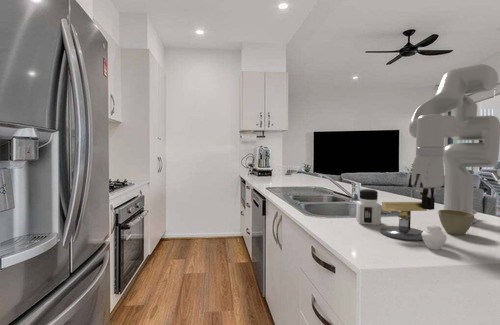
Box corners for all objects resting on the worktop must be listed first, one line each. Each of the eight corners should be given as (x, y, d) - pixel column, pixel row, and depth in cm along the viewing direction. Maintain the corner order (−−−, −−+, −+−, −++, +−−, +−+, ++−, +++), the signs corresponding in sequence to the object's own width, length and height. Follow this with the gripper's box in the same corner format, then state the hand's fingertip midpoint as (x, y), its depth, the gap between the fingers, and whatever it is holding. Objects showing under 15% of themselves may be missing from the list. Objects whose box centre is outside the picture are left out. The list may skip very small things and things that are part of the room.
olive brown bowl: (430, 230, 98) (431, 210, 98) (450, 228, 102) (451, 208, 102) (460, 239, 89) (461, 217, 89) (480, 235, 93) (481, 214, 92)
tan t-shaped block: (381, 216, 94) (382, 201, 94) (421, 216, 95) (422, 201, 95) (385, 218, 92) (385, 203, 92) (426, 218, 93) (426, 203, 92)
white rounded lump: (428, 251, 78) (429, 227, 77) (416, 244, 84) (417, 221, 83) (451, 252, 77) (452, 227, 77) (437, 244, 83) (438, 221, 83)
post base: (399, 227, 103) (399, 200, 103) (437, 237, 90) (438, 207, 90) (371, 231, 97) (372, 203, 97) (408, 243, 84) (409, 210, 84)
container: (380, 225, 105) (381, 191, 105) (359, 224, 107) (360, 190, 106) (375, 220, 113) (376, 188, 113) (355, 219, 115) (356, 188, 114)
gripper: (432, 152, 96) (431, 205, 97) (403, 152, 90) (401, 208, 91) (456, 153, 89) (454, 209, 90) (425, 153, 83) (423, 213, 84)
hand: (427, 208), depth 91 cm, fingers closed
